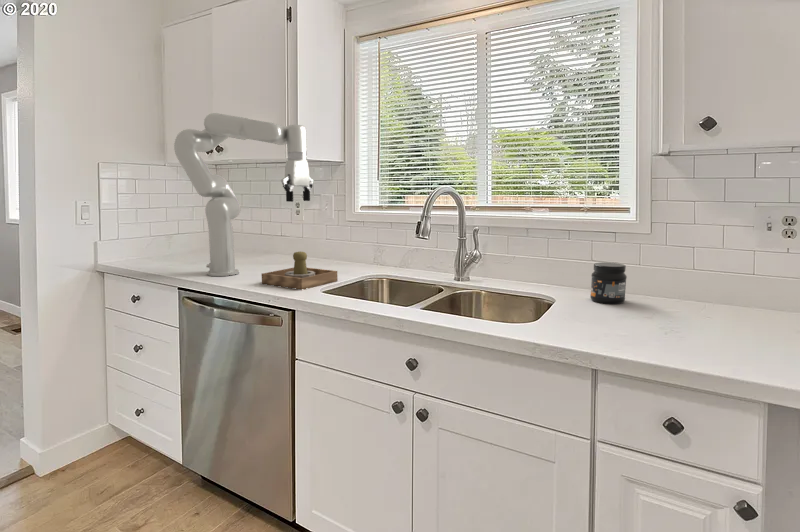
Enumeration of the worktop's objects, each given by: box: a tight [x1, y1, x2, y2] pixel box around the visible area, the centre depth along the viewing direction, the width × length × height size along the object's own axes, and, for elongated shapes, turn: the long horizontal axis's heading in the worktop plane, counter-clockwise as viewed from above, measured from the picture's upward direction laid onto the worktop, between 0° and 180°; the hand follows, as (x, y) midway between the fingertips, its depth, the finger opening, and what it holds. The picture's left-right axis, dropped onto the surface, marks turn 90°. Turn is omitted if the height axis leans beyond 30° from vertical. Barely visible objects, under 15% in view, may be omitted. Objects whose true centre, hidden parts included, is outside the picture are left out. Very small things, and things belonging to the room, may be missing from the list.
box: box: [261, 267, 338, 290], centre depth 198 cm, size 20×20×4 cm
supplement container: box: [590, 262, 628, 305], centre depth 167 cm, size 10×10×12 cm
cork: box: [292, 251, 308, 275], centre depth 197 cm, size 6×6×11 cm
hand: (298, 201), depth 208 cm, fingers open, 9 cm apart
